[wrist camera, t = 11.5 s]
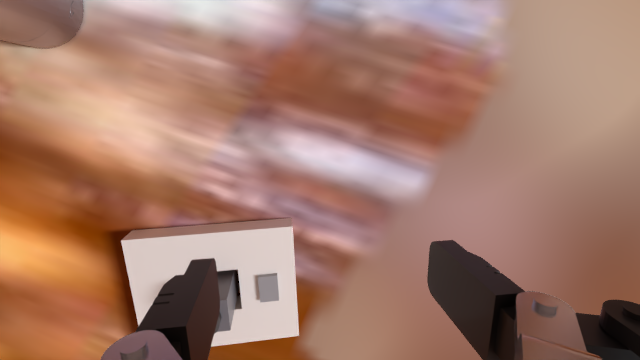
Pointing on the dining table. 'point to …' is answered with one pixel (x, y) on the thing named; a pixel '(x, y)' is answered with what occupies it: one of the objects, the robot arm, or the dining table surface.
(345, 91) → the dining table surface
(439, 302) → the robot arm
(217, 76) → the dining table surface
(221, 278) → the gray knobbed square peg
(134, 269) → the socket plate
